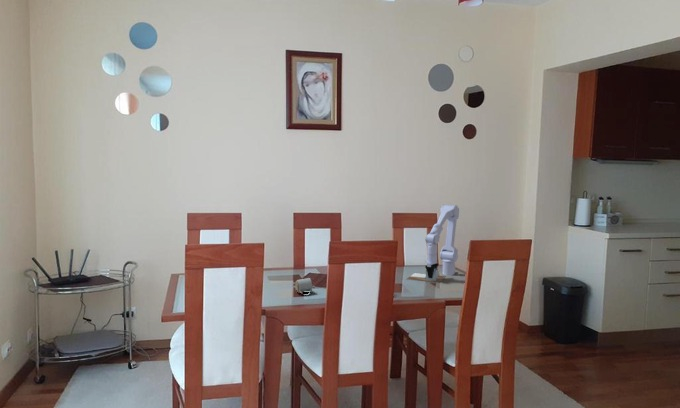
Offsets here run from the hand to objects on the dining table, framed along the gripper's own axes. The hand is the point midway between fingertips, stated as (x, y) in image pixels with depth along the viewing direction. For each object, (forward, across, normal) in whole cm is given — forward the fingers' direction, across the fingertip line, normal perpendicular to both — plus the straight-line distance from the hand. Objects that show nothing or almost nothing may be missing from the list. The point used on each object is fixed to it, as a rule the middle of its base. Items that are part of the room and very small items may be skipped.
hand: (431, 276), depth 279 cm
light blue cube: (+2, 0, 0) cm, 2 cm away
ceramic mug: (+3, +55, -56) cm, 78 cm away
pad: (+2, -6, -9) cm, 11 cm away
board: (+3, -3, -4) cm, 6 cm away
